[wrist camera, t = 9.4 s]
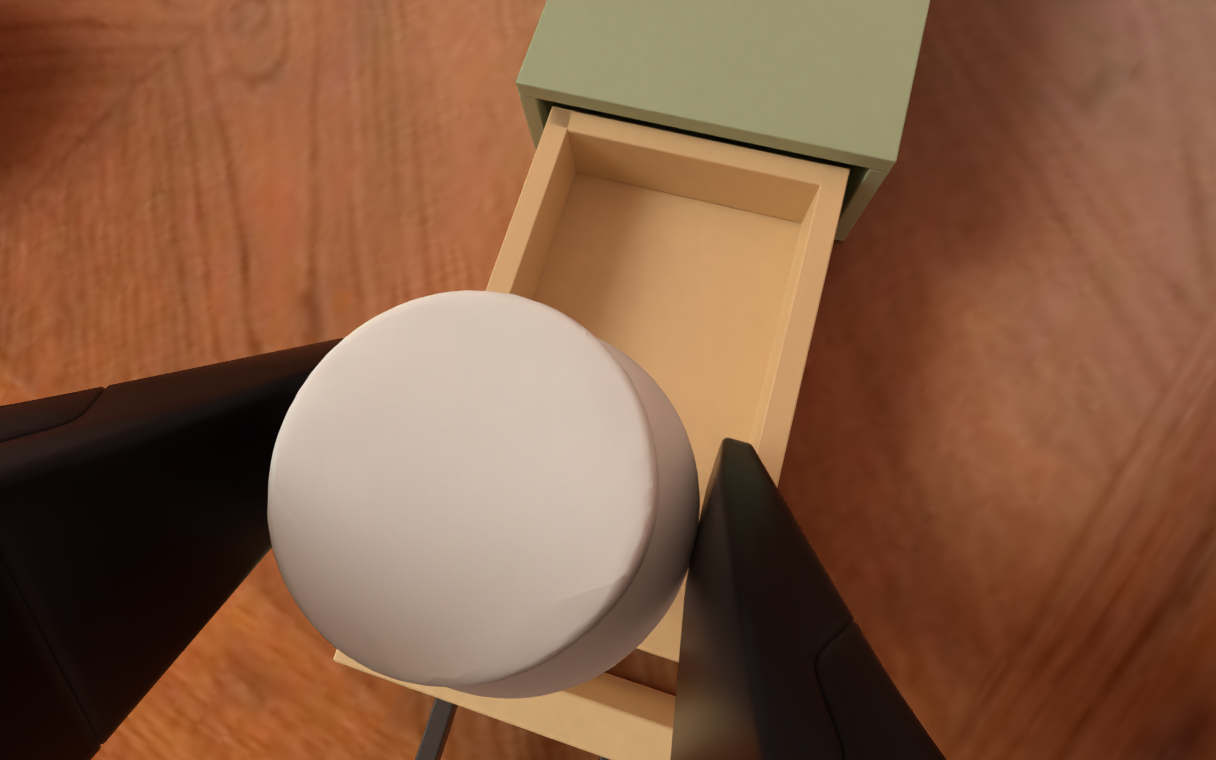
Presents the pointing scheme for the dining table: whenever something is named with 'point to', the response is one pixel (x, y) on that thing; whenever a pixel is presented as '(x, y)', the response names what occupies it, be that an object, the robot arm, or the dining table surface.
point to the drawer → (664, 337)
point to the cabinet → (739, 75)
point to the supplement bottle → (482, 497)
